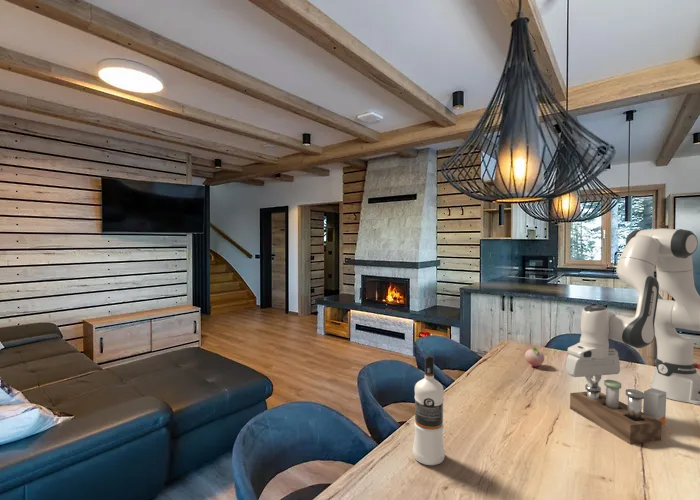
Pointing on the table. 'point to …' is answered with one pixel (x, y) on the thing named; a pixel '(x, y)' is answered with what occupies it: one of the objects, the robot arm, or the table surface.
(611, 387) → the plug mid
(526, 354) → the decorative fruit
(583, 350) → the robot arm
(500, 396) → the table surface
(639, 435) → the block
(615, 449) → the table surface
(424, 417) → the vodka
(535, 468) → the table surface
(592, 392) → the plug
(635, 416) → the plug
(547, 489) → the table surface
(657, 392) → the skincare box
